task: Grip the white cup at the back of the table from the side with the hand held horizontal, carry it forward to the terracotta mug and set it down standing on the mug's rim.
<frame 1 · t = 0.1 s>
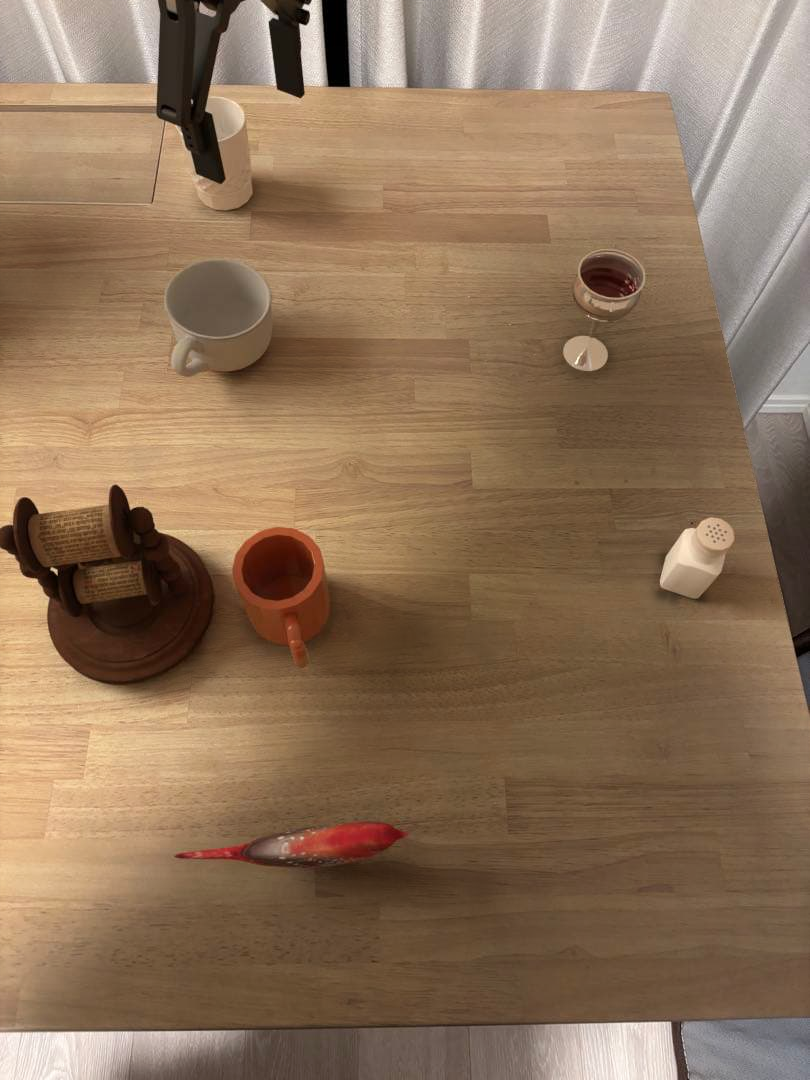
hand: (252, 133, 77), 20 cm above the table, tool pointing down, fingers open, 13 cm apart
decorative bird figurine: (300, 855, 68), on the table
mug: (289, 606, 77), on the table
white cup: (226, 193, 102), on the table
wineglass: (585, 354, 92), on the table
salt shaker: (680, 578, 80), on the table
scroll: (138, 613, 77), on the table
teacup: (221, 356, 91), on the table
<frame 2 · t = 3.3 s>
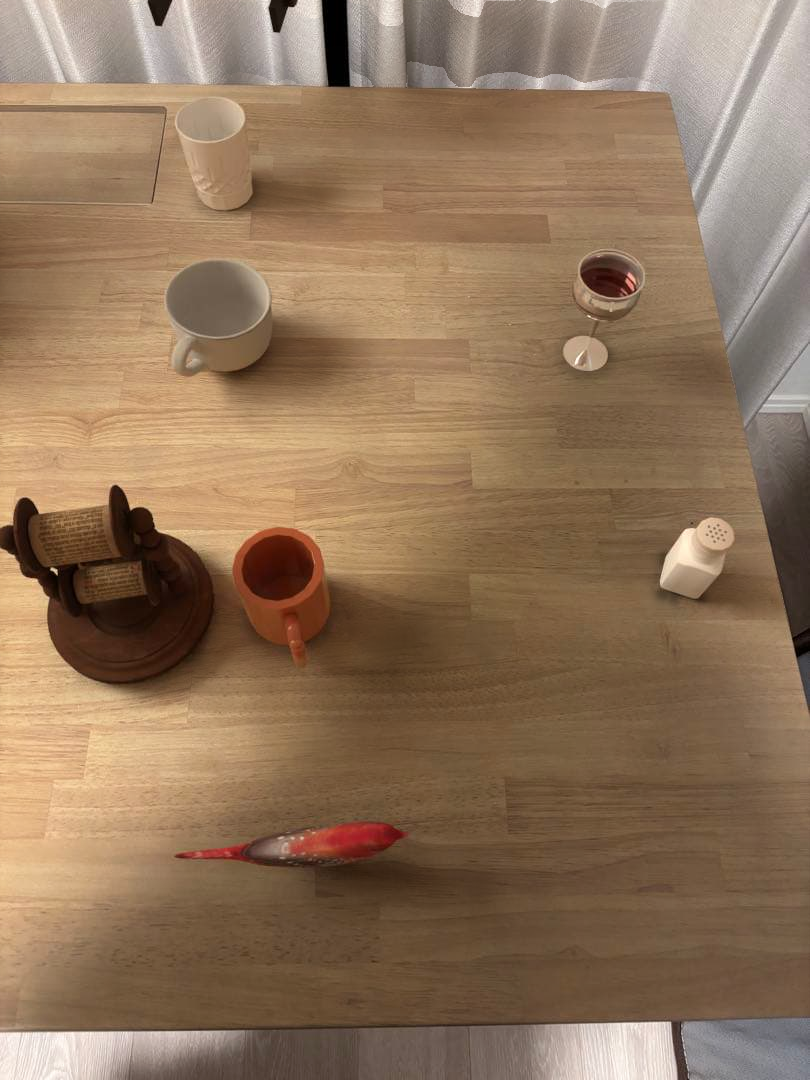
hand: (213, 17, 90), 17 cm above the table, tool horizontal, fingers open, 13 cm apart
nothing on the table moved.
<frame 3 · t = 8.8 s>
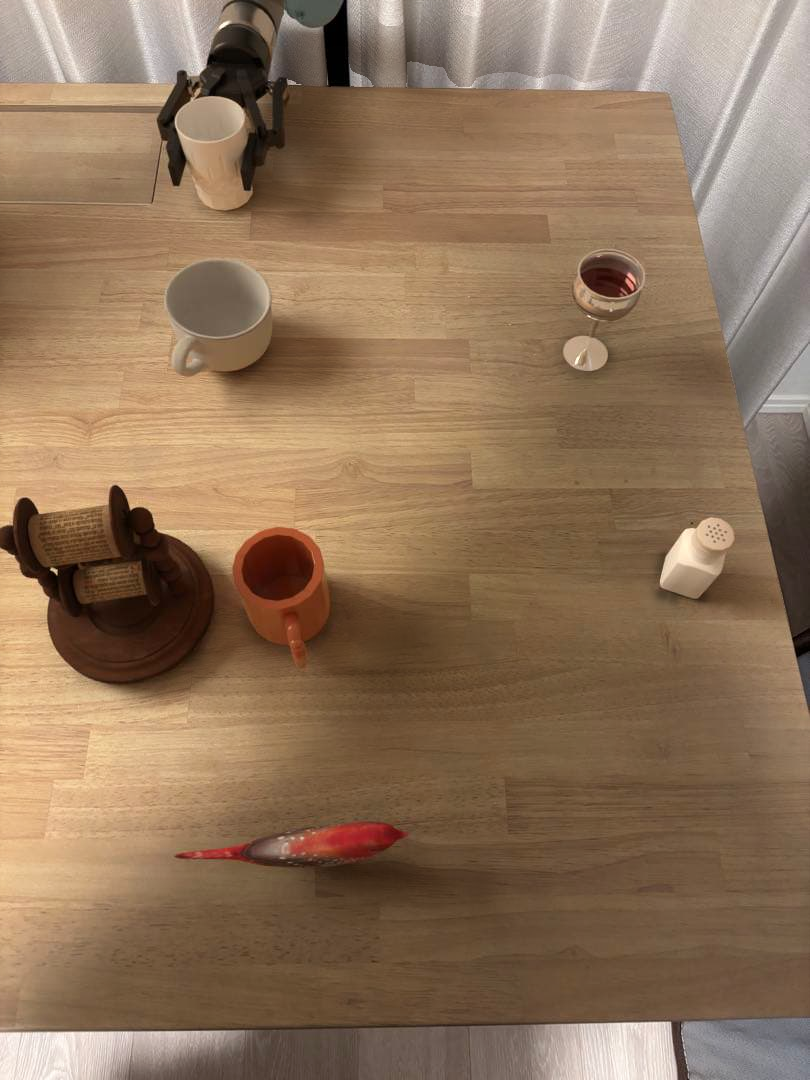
hand: (209, 178, 94), 6 cm above the table, tool horizontal, fingers closed on white cup, 8 cm apart
white cup: (226, 193, 102), on the table, touching gripper
everything else where it was.
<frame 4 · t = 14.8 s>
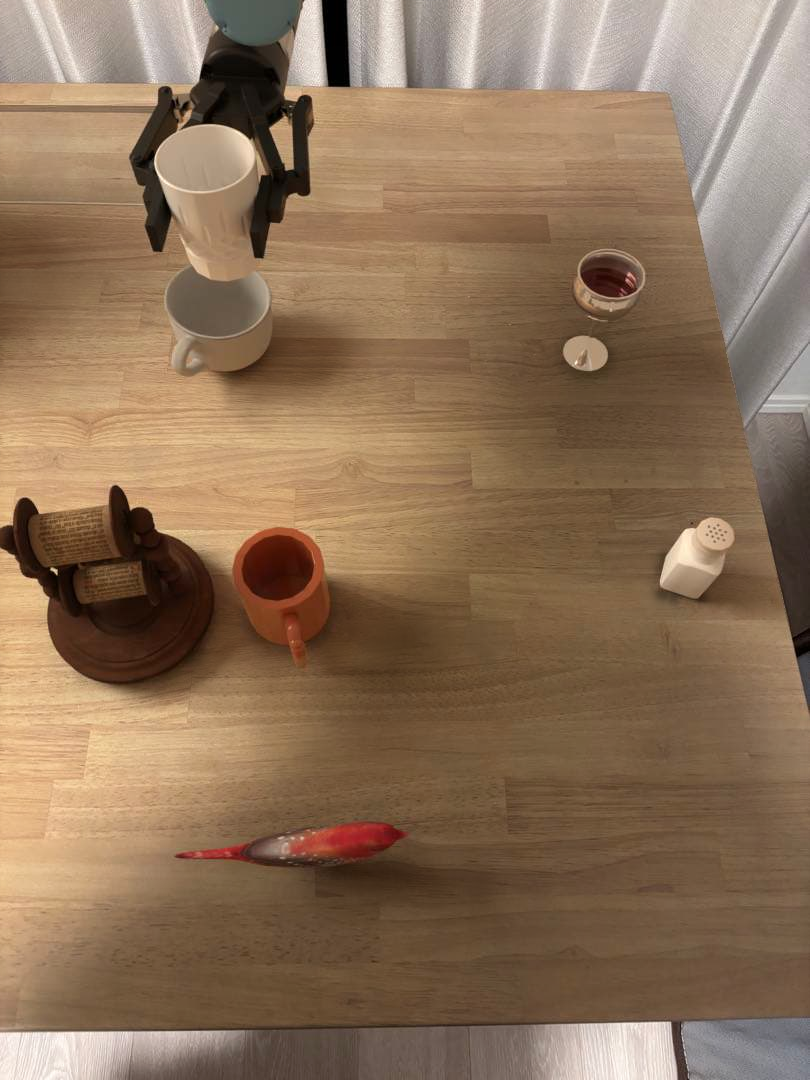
hand: (205, 242, 66), 24 cm above the table, tool horizontal, fingers closed on white cup, 8 cm apart
white cup: (228, 255, 74), point 17 cm above the table, touching gripper
everything else where it was.
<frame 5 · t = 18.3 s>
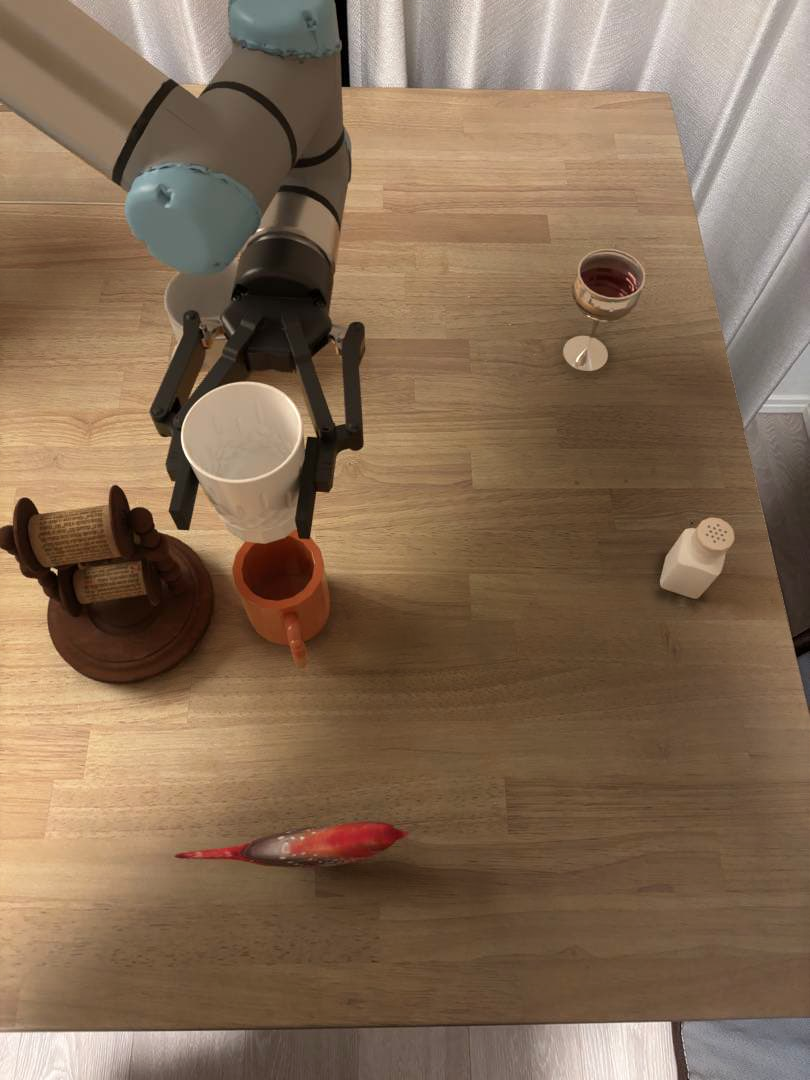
hand: (240, 525, 55), 23 cm above the table, tool horizontal, fingers closed on white cup, 8 cm apart
white cup: (264, 506, 63), point 17 cm above the table, touching gripper
everything else where it was.
when the fingers open (15 cm above the table, at t = 21.1 s): white cup stays where it is, resting on mug.
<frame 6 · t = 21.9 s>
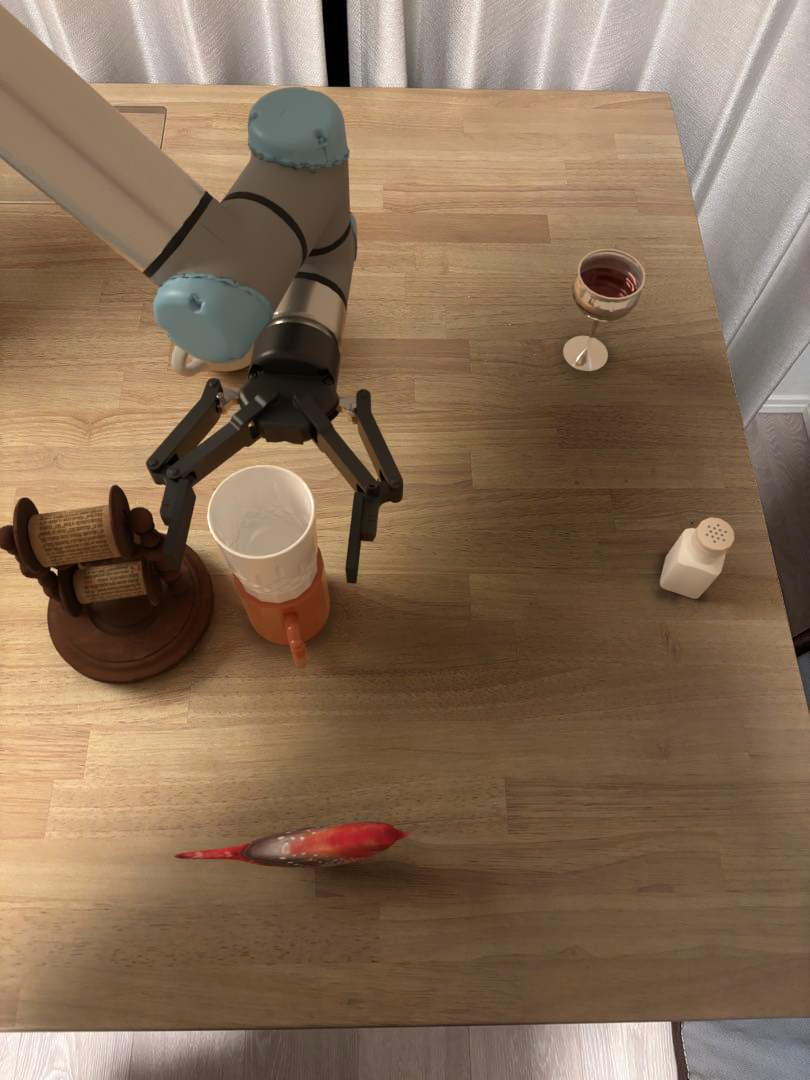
hand: (260, 570, 62), 16 cm above the table, tool horizontal, fingers open, 13 cm apart
white cup: (278, 568, 70), point 9 cm above the table, touching mug
everything else where it was.
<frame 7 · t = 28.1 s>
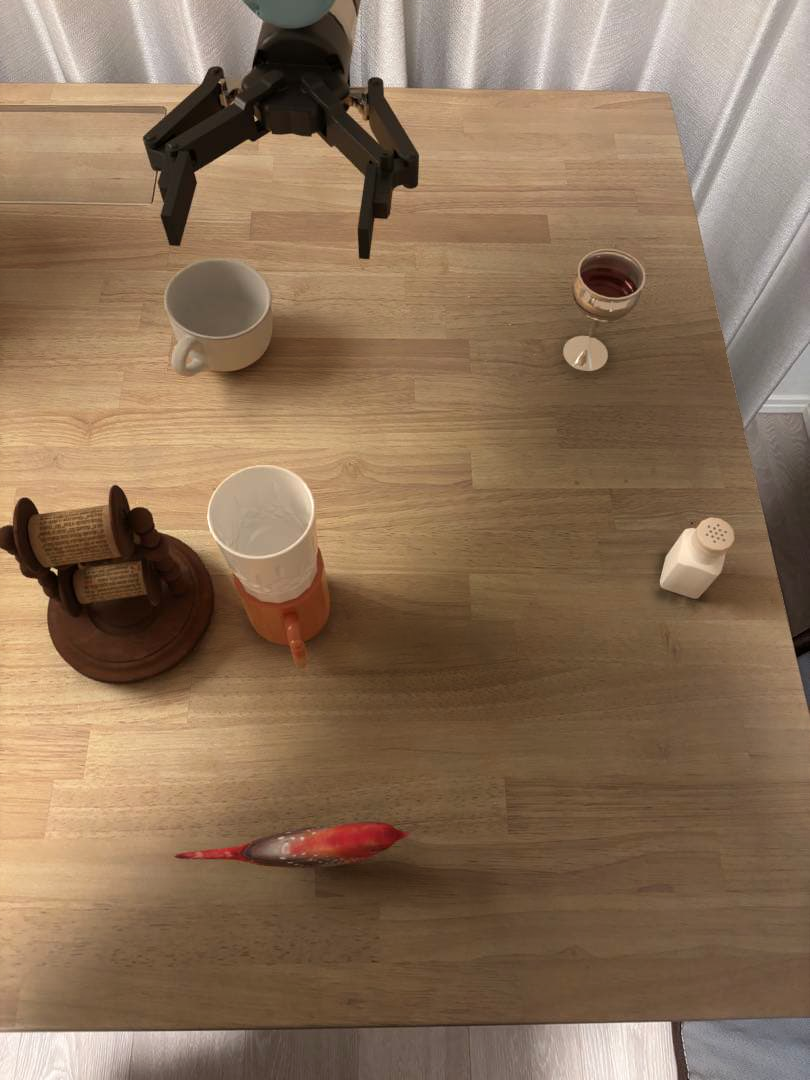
hand: (266, 238, 58), 30 cm above the table, tool horizontal, fingers open, 13 cm apart
nothing on the table moved.
at the end: white cup 0.0 cm off-centre on the mug, point 8.8 cm above the mug's base; white cup tilted 0°; the gripper is holding nothing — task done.
